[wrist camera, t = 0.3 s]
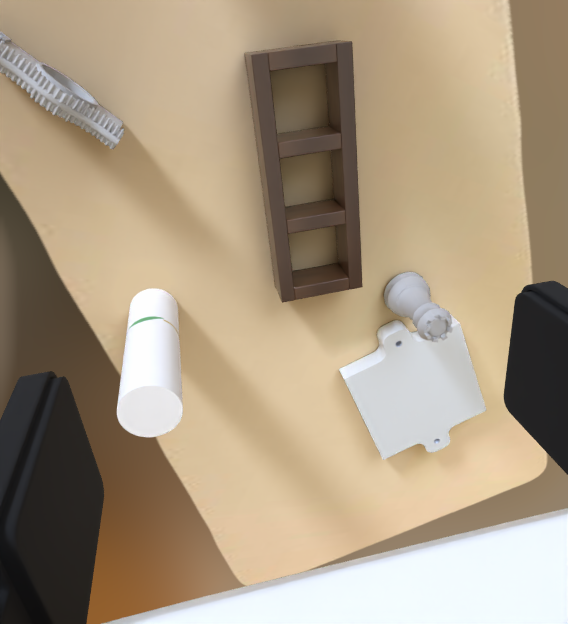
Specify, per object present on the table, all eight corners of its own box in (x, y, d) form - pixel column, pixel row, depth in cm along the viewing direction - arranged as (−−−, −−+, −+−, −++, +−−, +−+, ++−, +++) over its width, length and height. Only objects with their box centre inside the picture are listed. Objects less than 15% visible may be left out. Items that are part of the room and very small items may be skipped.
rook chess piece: (376, 282, 52) (408, 321, 45) (417, 262, 52) (456, 298, 45) (389, 317, 54) (423, 360, 47) (429, 298, 54) (468, 337, 47)
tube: (186, 300, 49) (194, 398, 36) (165, 337, 50) (165, 444, 37) (142, 280, 47) (133, 376, 34) (121, 319, 48) (105, 425, 35)
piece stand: (274, 286, 50) (282, 302, 47) (244, 53, 40) (250, 54, 37) (350, 271, 51) (362, 287, 48) (338, 40, 41) (352, 41, 38)
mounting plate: (482, 414, 63) (491, 425, 61) (383, 462, 64) (389, 473, 62) (444, 295, 54) (453, 303, 52) (330, 351, 55) (335, 361, 53)
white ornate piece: (-41, 28, 36) (-75, 28, 31) (-29, 5, 36) (-61, 1, 31) (117, 139, 41) (110, 154, 36) (129, 120, 41) (124, 133, 36)
